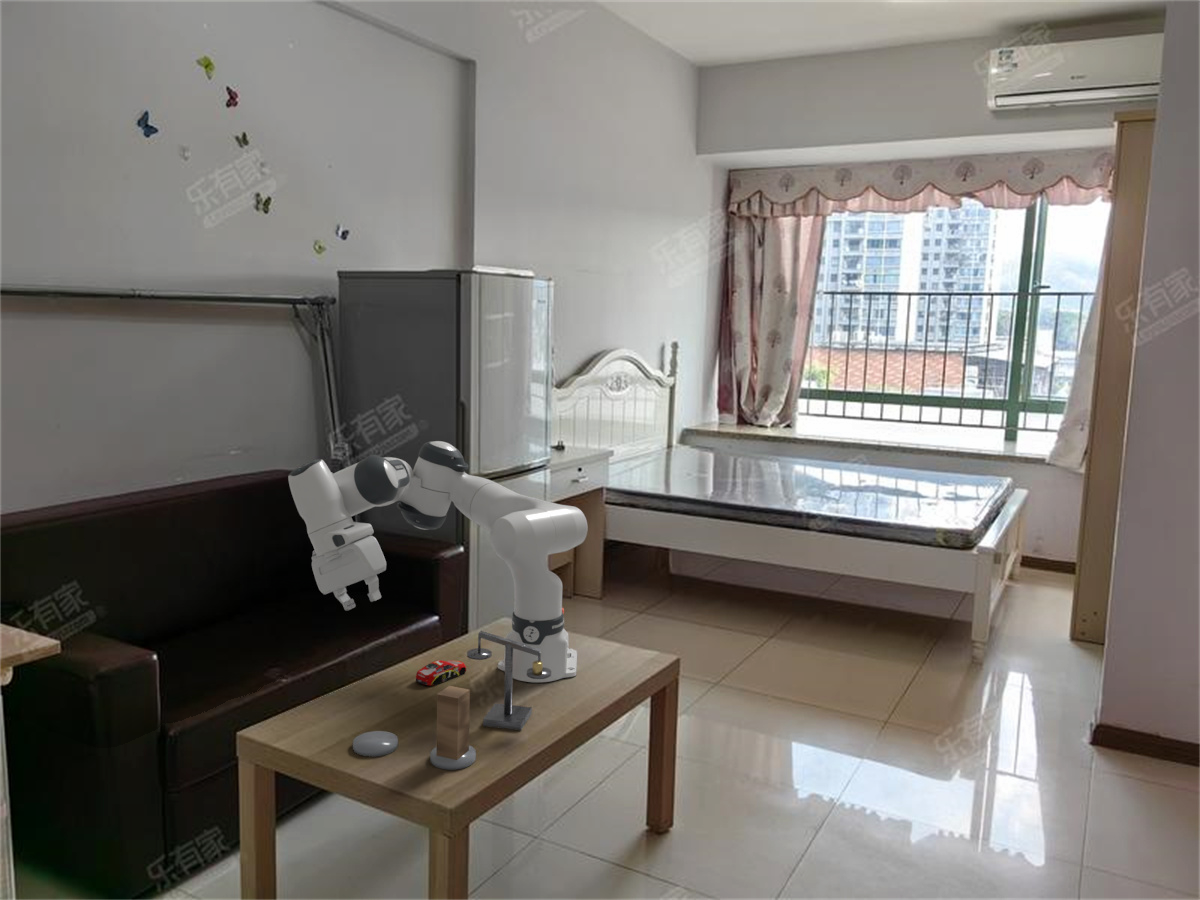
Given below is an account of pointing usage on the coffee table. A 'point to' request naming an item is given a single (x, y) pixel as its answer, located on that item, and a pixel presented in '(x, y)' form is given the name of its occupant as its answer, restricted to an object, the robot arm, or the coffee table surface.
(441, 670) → the race car
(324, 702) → the coffee table surface
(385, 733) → the grey oval dome
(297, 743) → the coffee table surface
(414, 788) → the coffee table surface
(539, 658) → the balance
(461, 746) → the pillar
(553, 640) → the robot arm
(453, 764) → the grey flat pebble
